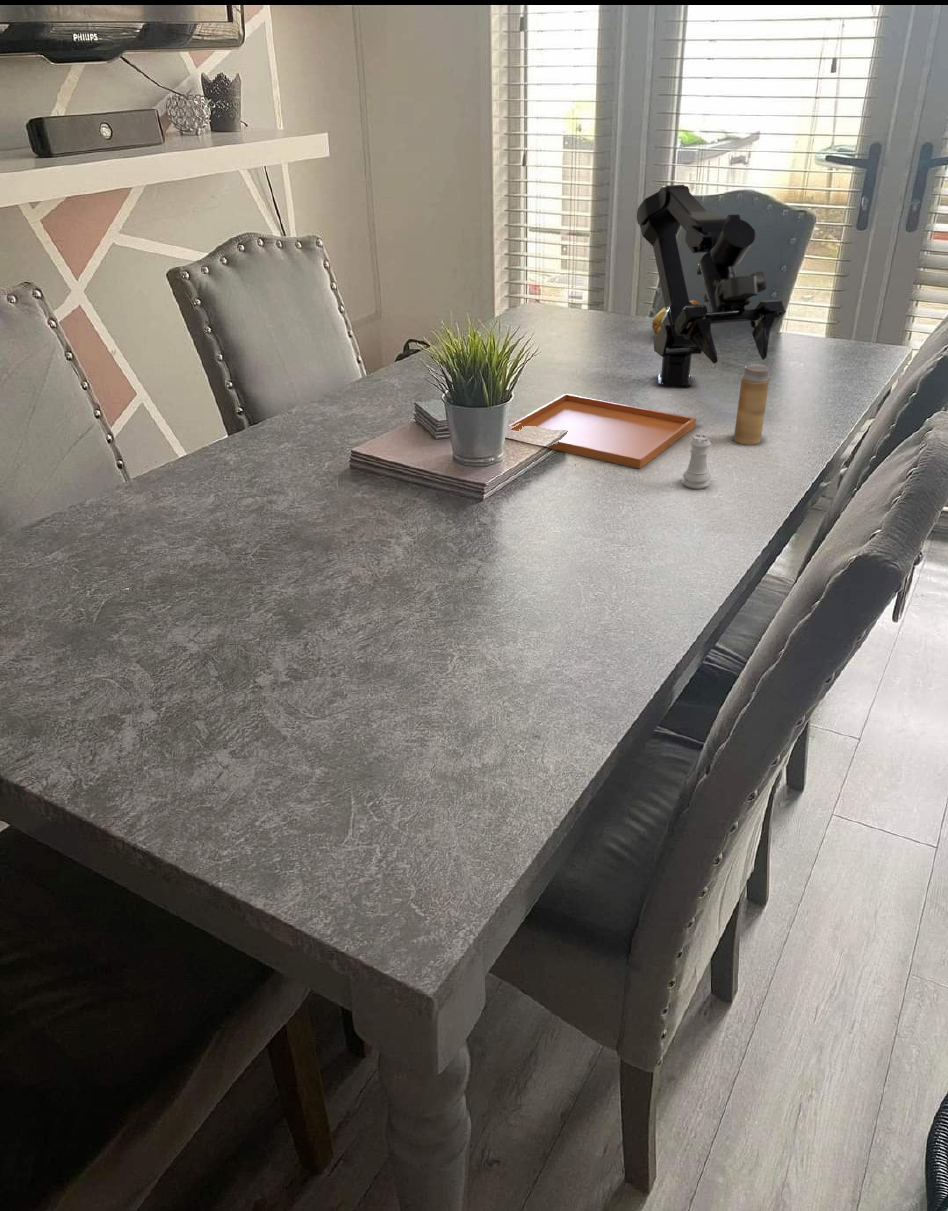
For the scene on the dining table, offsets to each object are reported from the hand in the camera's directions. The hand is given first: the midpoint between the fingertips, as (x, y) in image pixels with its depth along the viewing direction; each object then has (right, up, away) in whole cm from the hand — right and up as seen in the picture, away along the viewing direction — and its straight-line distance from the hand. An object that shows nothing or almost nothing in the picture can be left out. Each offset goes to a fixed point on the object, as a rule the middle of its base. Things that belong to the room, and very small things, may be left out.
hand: (740, 360), depth 168 cm
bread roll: (0, +24, +56) cm, 61 cm away
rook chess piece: (-11, -24, -15) cm, 30 cm away
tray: (-24, -12, +6) cm, 27 cm away
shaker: (+1, -14, +1) cm, 14 cm away
